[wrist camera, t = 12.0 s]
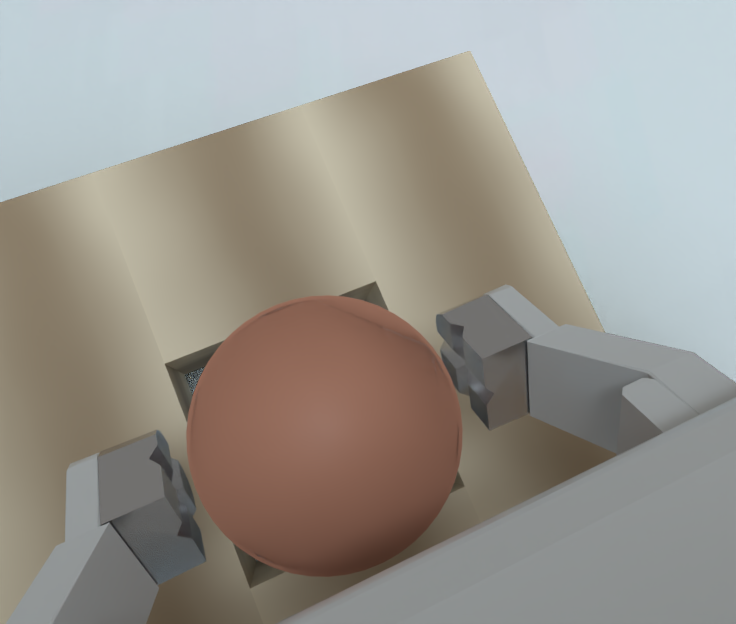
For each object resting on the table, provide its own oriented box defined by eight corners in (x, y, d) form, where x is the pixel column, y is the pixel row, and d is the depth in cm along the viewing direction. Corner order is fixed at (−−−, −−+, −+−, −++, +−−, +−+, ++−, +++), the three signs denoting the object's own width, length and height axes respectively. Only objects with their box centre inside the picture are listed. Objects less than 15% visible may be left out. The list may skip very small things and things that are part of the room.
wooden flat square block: (137, 852, 15) (101, 952, 12) (-59, 275, 17) (-130, 244, 14) (660, 568, 18) (731, 595, 15) (443, 104, 20) (470, 50, 17)
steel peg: (269, 526, 17) (247, 628, 8) (216, 391, 18) (145, 355, 9) (400, 466, 18) (506, 503, 9) (346, 338, 19) (398, 257, 10)
